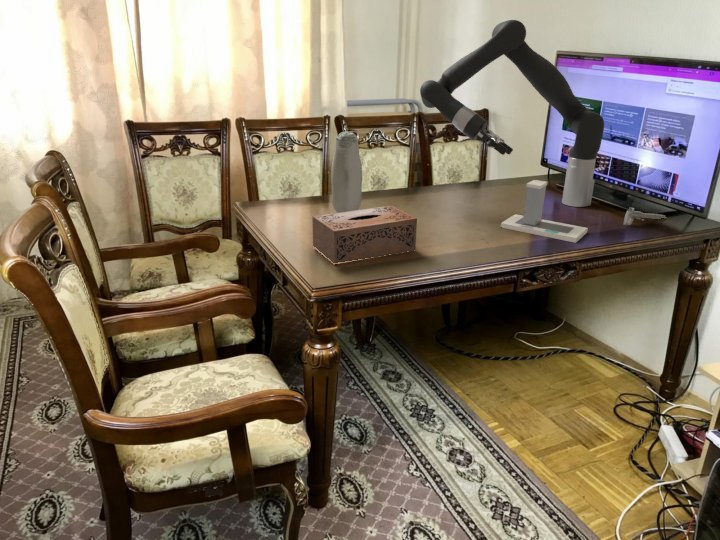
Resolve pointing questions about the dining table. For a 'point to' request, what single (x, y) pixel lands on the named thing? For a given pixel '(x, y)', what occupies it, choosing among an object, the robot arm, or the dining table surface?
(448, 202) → the dining table surface
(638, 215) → the caliper
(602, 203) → the dining table surface
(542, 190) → the switch tab
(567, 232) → the switch panel
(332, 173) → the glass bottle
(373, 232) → the tissue box cover
